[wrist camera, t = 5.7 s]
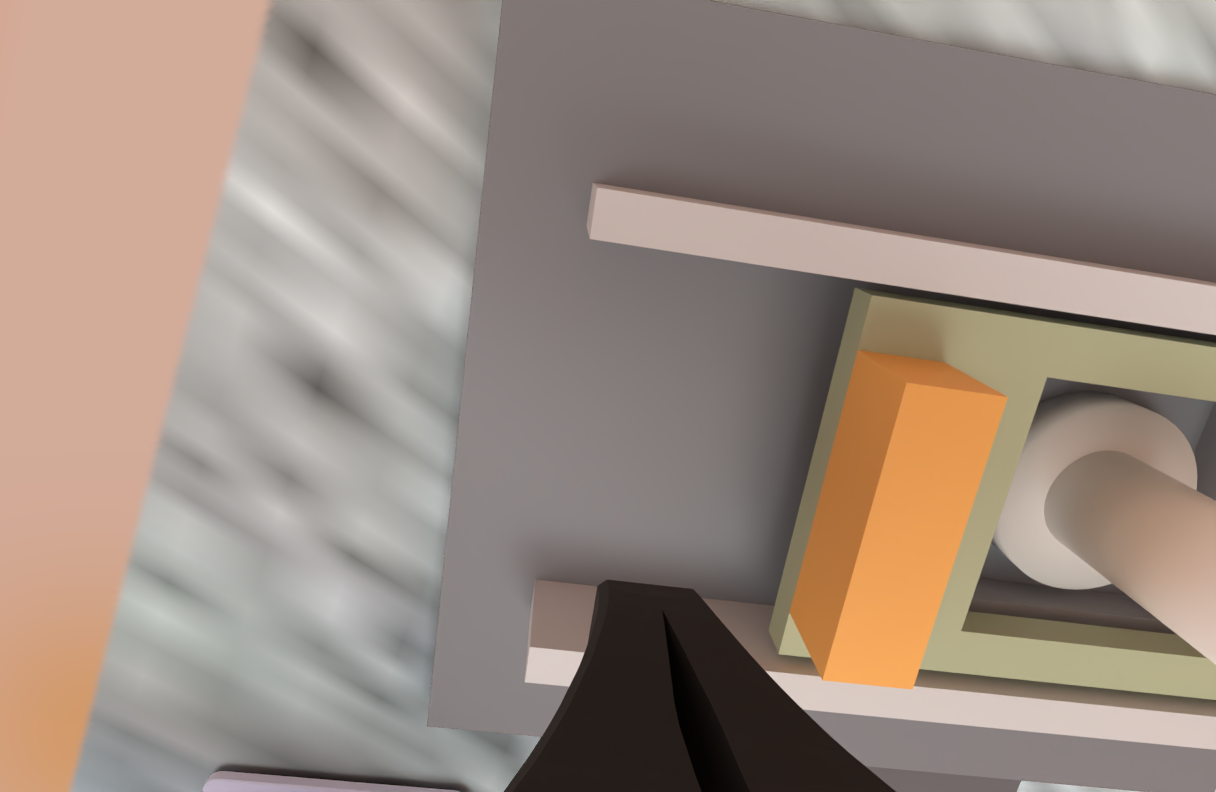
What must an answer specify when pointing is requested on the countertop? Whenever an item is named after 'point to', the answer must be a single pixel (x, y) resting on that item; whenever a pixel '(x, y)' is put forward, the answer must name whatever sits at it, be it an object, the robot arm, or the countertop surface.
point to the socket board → (789, 343)
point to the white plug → (1115, 511)
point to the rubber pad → (941, 781)
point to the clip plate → (1023, 383)
